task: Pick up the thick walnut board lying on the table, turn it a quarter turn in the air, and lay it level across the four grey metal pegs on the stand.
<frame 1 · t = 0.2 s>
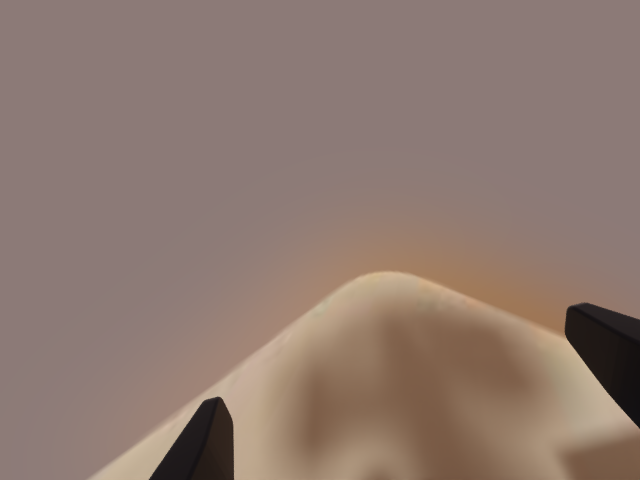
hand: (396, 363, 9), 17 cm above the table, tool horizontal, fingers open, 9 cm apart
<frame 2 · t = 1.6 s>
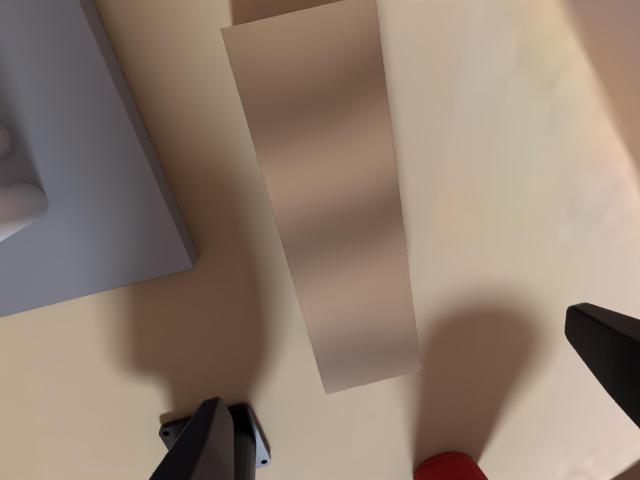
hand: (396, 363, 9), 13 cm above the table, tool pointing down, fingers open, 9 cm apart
walnut board: (329, 204, 21), on the table
plastic cup: (445, 469, 32), on the table
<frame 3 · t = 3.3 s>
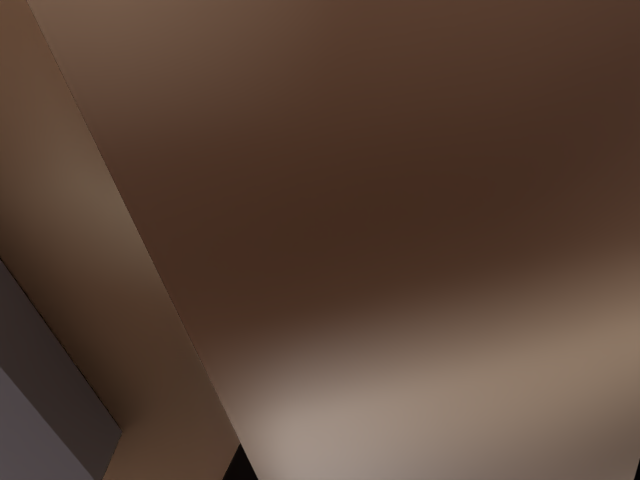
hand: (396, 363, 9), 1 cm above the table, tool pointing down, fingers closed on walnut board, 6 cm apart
walnut board: (383, 331, 10), on the table, touching gripper
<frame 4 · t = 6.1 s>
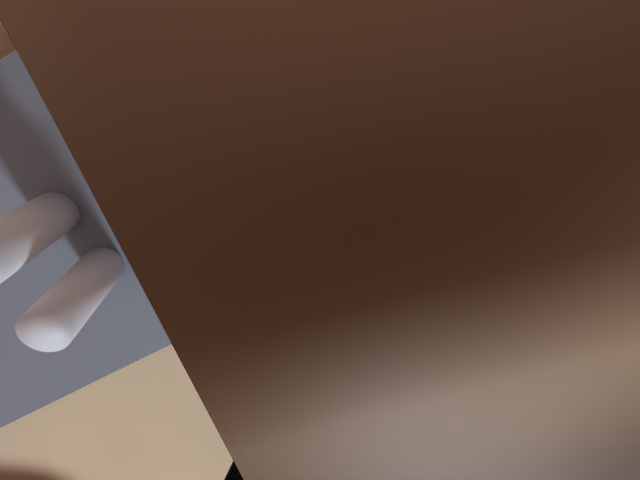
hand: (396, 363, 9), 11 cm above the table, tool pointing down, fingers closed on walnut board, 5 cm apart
walnut board: (385, 336, 10), point 10 cm above the table, touching gripper
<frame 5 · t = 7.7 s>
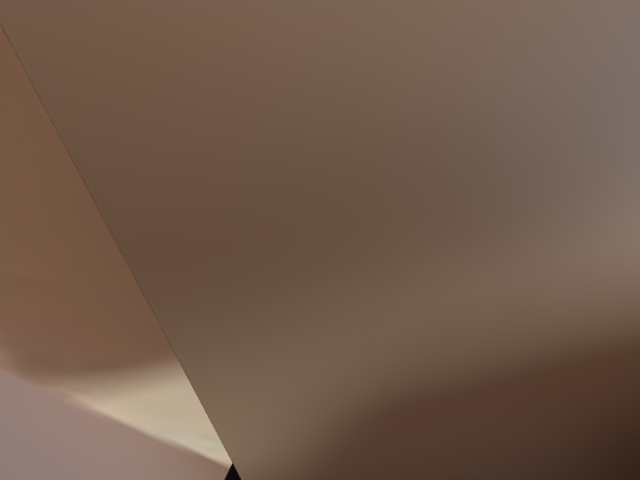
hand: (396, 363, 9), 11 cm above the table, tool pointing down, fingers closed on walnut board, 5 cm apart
walnut board: (384, 335, 10), point 10 cm above the table, touching gripper
when the fingers open (9 cm above the table, at t = 8.9 s): walnut board drops 1 cm, resting on peg stand.
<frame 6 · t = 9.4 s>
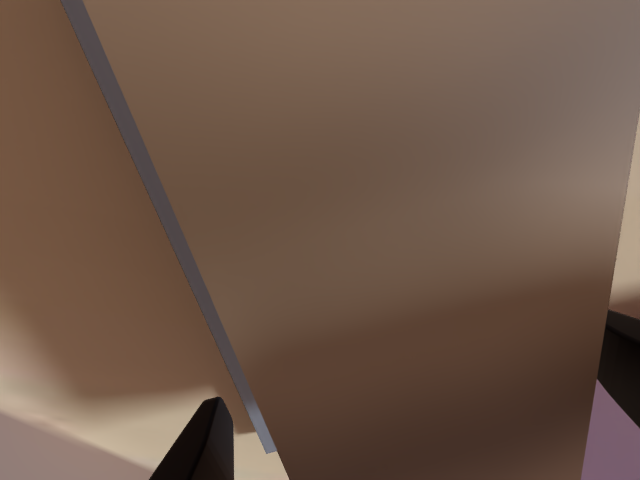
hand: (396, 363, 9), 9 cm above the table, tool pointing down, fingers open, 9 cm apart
walnut board: (376, 309, 11), point 6 cm above the table, touching peg stand
clip: (623, 383, 25), on the table
peg stand: (339, 229, 17), on the table
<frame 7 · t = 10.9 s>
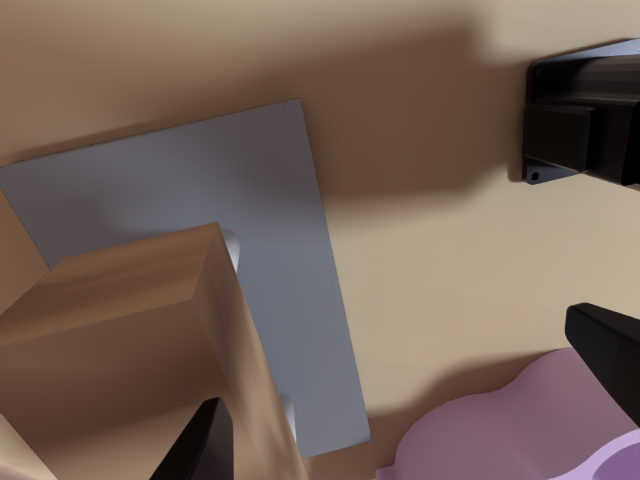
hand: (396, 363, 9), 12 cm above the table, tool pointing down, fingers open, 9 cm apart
walnut board: (221, 410, 17), point 6 cm above the table, touching peg stand
clip: (488, 426, 31), on the table
peg stand: (231, 324, 23), on the table
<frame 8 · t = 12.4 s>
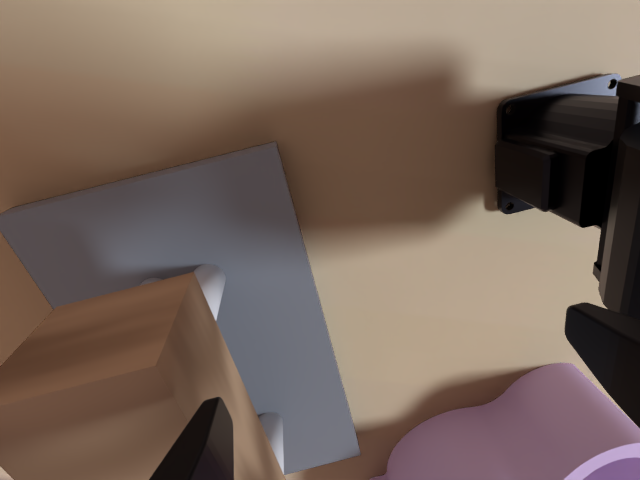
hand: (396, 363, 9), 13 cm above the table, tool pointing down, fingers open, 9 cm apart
walnut board: (207, 437, 18), point 6 cm above the table, touching peg stand
clip: (478, 438, 31), on the table
peg stand: (222, 347, 24), on the table
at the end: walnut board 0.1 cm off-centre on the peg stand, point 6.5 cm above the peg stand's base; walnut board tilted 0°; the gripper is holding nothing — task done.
